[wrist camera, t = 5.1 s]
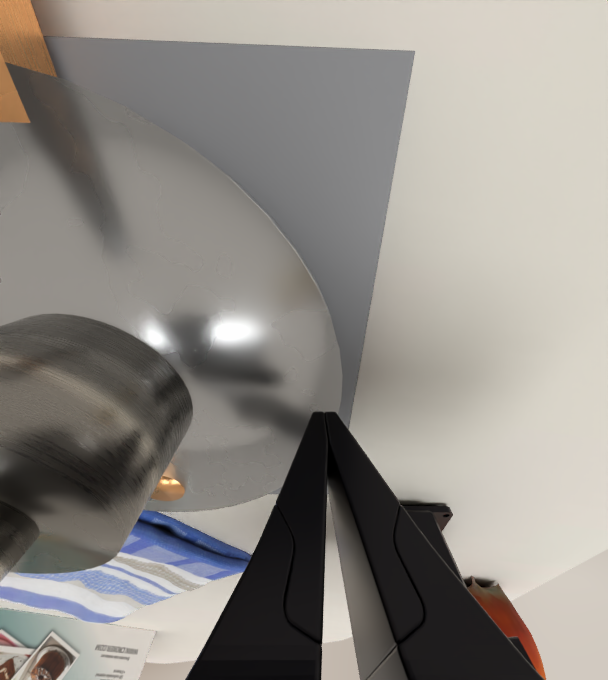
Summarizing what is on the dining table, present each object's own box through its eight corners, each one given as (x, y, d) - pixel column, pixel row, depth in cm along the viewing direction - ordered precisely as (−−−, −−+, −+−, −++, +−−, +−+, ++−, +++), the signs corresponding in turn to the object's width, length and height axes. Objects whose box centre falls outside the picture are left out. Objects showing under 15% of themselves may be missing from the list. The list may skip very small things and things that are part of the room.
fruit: (543, 592, 23) (584, 728, 18) (475, 563, 29) (494, 658, 25) (478, 585, 22) (506, 728, 17) (422, 556, 28) (433, 654, 24)
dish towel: (-22, 555, 22) (-63, 596, 20) (94, 470, 16) (54, 517, 13) (131, 596, 29) (115, 631, 26) (259, 549, 22) (254, 590, 20)
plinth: (335, 482, 15) (337, 497, 14) (51, 479, 15) (35, 495, 14) (401, 71, 6) (419, 44, 5) (-348, 42, 6) (-469, 8, 5)
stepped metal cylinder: (207, 453, 10) (120, 660, 5) (56, 451, 10) (-173, 661, 5) (168, 316, 7) (-147, 527, 2) (-55, 310, 7) (-948, 519, 2)
